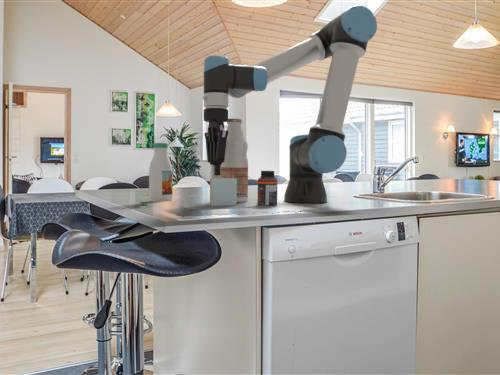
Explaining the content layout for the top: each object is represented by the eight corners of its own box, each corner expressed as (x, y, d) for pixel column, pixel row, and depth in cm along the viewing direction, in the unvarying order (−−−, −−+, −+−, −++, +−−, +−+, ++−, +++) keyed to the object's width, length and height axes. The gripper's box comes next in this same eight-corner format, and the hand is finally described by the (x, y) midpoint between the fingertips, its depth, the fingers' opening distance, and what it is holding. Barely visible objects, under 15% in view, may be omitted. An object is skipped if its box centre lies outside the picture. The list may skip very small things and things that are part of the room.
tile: (234, 204, 133) (234, 178, 133) (236, 204, 132) (236, 178, 132) (209, 205, 130) (210, 178, 129) (211, 205, 128) (212, 178, 128)
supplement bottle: (254, 207, 135) (254, 170, 135) (271, 206, 138) (272, 170, 137) (262, 209, 130) (263, 170, 129) (280, 208, 132) (281, 170, 132)
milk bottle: (153, 203, 144) (153, 142, 143) (146, 202, 150) (145, 143, 149) (175, 203, 148) (175, 143, 147) (167, 201, 154) (167, 143, 153)
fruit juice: (216, 204, 144) (216, 117, 142) (224, 202, 153) (224, 120, 152) (244, 205, 142) (244, 117, 140) (250, 202, 151) (251, 120, 149)
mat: (233, 206, 136) (233, 203, 136) (253, 211, 125) (253, 207, 125) (177, 209, 128) (177, 205, 128) (193, 214, 116) (193, 210, 116)
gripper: (196, 109, 138) (196, 185, 140) (213, 105, 127) (212, 187, 128) (218, 111, 142) (218, 184, 143) (236, 107, 130) (235, 186, 132)
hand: (215, 185), depth 136 cm, fingers closed
